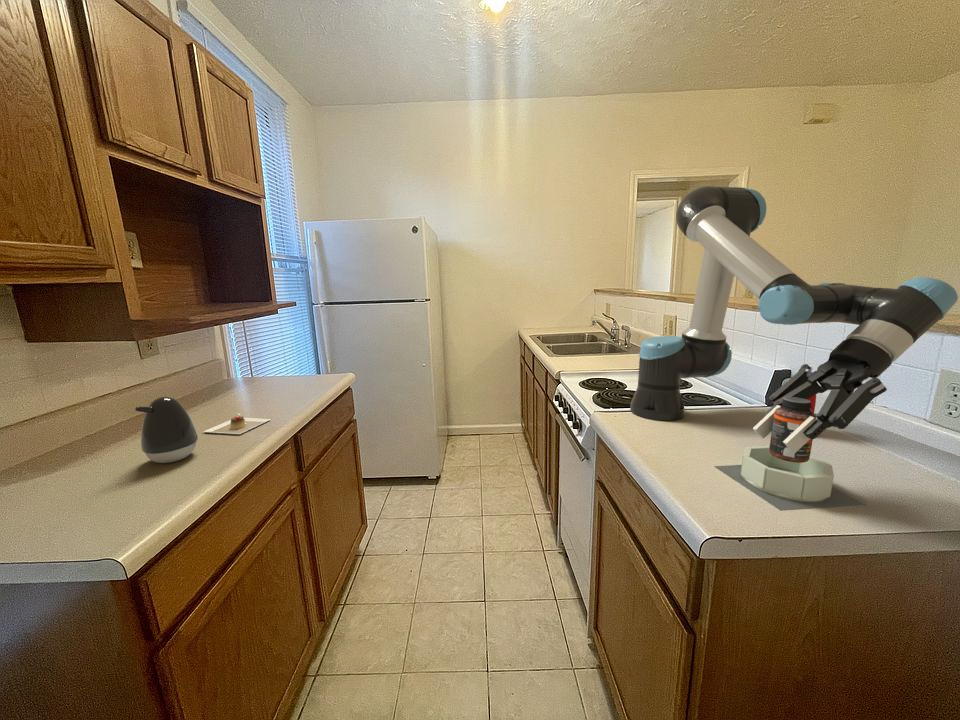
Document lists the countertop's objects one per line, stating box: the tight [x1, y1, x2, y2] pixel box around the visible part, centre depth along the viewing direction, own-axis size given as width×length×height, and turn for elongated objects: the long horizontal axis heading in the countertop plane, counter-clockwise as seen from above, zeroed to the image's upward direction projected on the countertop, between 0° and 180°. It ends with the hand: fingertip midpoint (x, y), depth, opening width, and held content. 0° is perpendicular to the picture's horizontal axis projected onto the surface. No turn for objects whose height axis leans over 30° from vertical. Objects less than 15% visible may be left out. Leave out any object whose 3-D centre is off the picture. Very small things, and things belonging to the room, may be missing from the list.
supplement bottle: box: [769, 397, 817, 463], centre depth 68 cm, size 6×6×11 cm
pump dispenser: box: [134, 396, 199, 464], centre depth 86 cm, size 10×10×15 cm
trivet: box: [713, 464, 868, 511], centre depth 71 cm, size 16×16×1 cm
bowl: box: [741, 445, 835, 503], centre depth 70 cm, size 13×13×5 cm
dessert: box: [202, 412, 271, 436], centre depth 107 cm, size 12×12×5 cm
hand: (772, 440), depth 68 cm, fingers closed on supplement bottle, 6 cm apart
